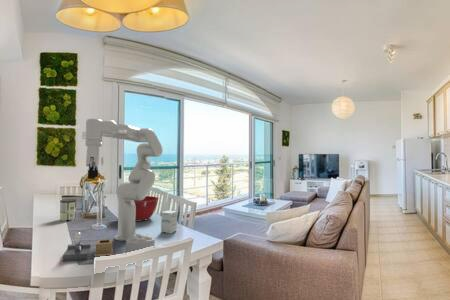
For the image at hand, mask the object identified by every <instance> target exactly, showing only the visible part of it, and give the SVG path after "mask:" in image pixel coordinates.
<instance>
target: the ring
mask: <svg viewBox="0 0 450 300" xmlns="http://www.w3.org/2000/svg"><path fill="white" fill-rule="evenodd" d="M113 243H114V239H113V238H109V239H106V238H104V239H97V241H96V243H95V252H96V255H99V254H111V253H112V249H114V248H113V247H114V246H113V245H114V244H113Z"/></svg>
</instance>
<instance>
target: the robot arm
mask: <svg viewBox="0 0 450 300" xmlns="http://www.w3.org/2000/svg"><path fill="white" fill-rule="evenodd" d="M103 137H105V138H112V139H116V140H117V139H119V140H124V141H128V142H129V141H130V142H134V143H140V144H138V145H137V147H136V155H137V162H136V164H135V166H134V167H133V168H132V170H131V172H130V173H129V175H128V178H127V179H128V182H123V183H121V184H119V185H118V186H117V188H116V196H117V203H118V205H117V209H118V210H117V211H118V213H117V234H116V235H115V236H114V240H116V241H120V242H126V240H128V239H130V238H131V237H132V236H135V235H137V233H136V221H135V219H136V206H135V202H134V200H136V201H141V200H143V199H144V198H145V197H146V196H148V194H149V192H150V190H152V188H153V186H154V183H155V181H156V174H155V172H154V171H153V170H151V161H150V158H157V157H160V156H161V155H162V153H163V146H162V143H161V142H160V140H159V138H158V136H157V134H156V132H155V131H154V130H153V129H152V128H140V127H135V126H132V125H128V124H118V123H116V122H115V120H112V119H111V120H110V119H107V120H106V119H105V120H104V119H98V118H88V119H86V121H85V147H87V148H86V159H85V160H86V161H85V166H86V167H88V168H87V169H88V170H87V179H88V180H92V179H93V180H95V179H96V178H98V177H99V169H98V168H99V165H100V148H101V147H103Z"/></svg>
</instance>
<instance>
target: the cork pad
mask: <svg viewBox="0 0 450 300" xmlns="http://www.w3.org/2000/svg"><path fill="white" fill-rule="evenodd" d="M106 255H108V256H113V255H114V248H113V249H112V253H111V254H99V255H96V251H95V253H94V255H93V256H94V258H96V257H105V256H106Z"/></svg>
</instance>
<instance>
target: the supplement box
mask: <svg viewBox="0 0 450 300" xmlns="http://www.w3.org/2000/svg"><path fill="white" fill-rule="evenodd" d="M177 228H178V211H177V210H176V211H175V210H169V209H168V210H164V211H162V212H161V222H160V233H163V232H166V233H165V234H170V233H171V234H173V233H172V232H174V231H176V230H177ZM176 232H177V231H176ZM174 233H175V232H174Z"/></svg>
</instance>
